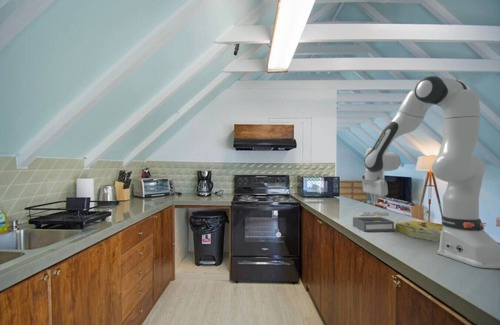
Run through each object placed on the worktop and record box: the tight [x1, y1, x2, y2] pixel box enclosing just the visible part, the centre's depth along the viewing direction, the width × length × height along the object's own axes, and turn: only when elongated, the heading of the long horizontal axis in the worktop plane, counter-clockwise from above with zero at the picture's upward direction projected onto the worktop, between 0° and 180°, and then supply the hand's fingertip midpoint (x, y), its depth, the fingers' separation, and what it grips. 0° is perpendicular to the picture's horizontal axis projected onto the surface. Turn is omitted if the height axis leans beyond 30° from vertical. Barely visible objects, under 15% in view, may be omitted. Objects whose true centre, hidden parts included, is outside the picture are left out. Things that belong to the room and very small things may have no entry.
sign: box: [394, 220, 443, 242], centre depth 133 cm, size 28×3×30 cm
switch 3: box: [377, 211, 390, 217], centre depth 145 cm, size 8×4×2 cm, turn 2°
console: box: [352, 215, 395, 233], centre depth 145 cm, size 14×16×5 cm
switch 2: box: [366, 211, 380, 217], centre depth 145 cm, size 8×4×2 cm, turn 2°
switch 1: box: [356, 211, 371, 217], centre depth 145 cm, size 8×4×2 cm, turn 2°
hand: (374, 202), depth 142 cm, fingers closed
